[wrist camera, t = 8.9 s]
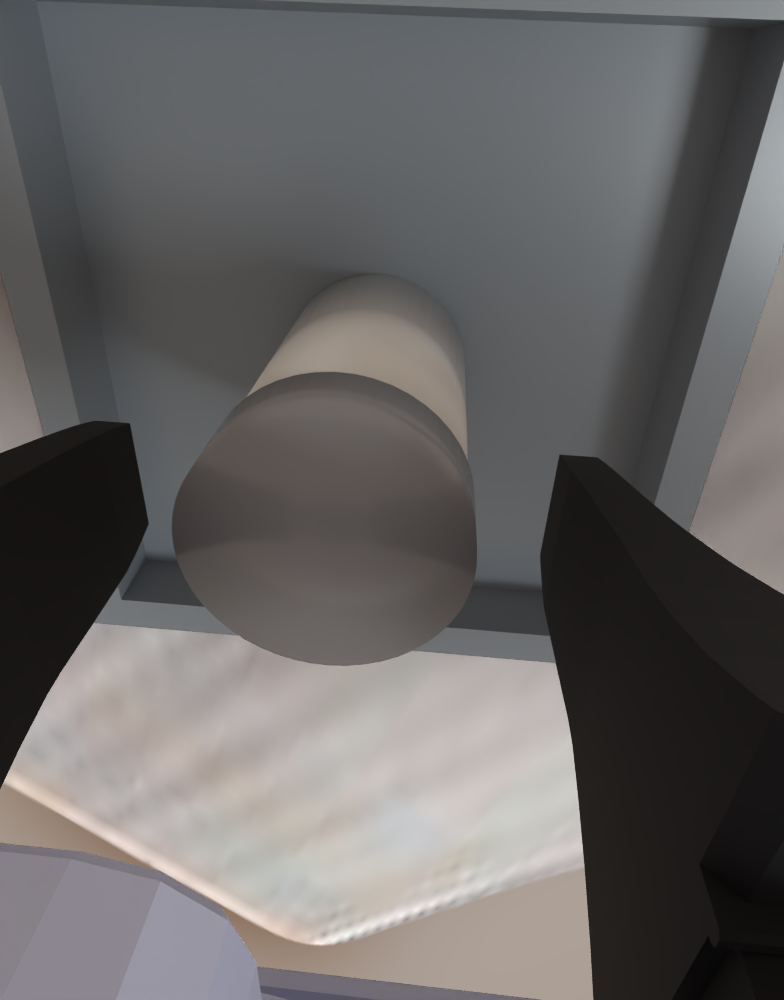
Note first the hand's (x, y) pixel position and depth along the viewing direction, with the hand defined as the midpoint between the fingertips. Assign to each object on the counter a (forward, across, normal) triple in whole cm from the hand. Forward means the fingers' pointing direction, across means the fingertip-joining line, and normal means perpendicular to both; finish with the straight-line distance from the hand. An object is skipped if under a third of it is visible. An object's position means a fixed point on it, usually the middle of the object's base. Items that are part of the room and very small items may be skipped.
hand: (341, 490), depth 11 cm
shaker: (+6, 0, 0) cm, 6 cm away
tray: (+7, 0, 0) cm, 7 cm away
